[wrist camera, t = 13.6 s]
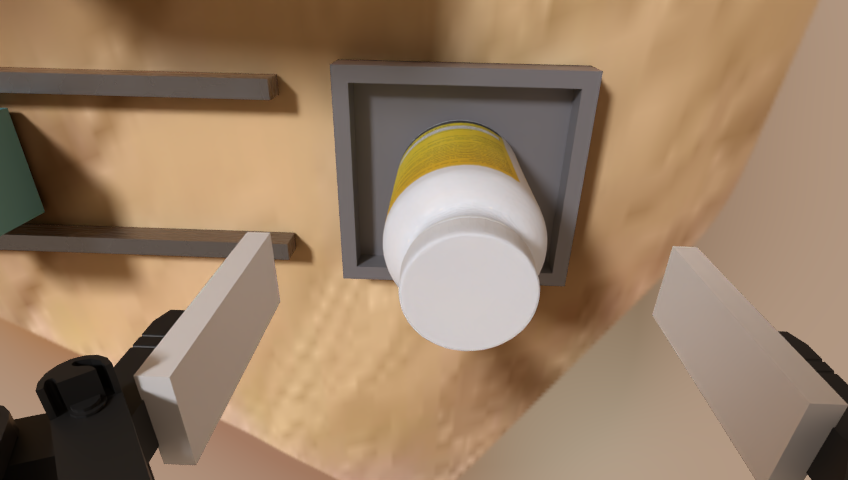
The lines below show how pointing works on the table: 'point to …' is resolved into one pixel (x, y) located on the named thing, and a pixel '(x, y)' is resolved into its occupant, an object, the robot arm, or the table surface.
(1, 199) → the teal and grey cube
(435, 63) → the tray
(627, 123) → the table surface
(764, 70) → the table surface
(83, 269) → the table surface
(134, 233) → the guide rail
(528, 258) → the pill bottle
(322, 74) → the table surface
